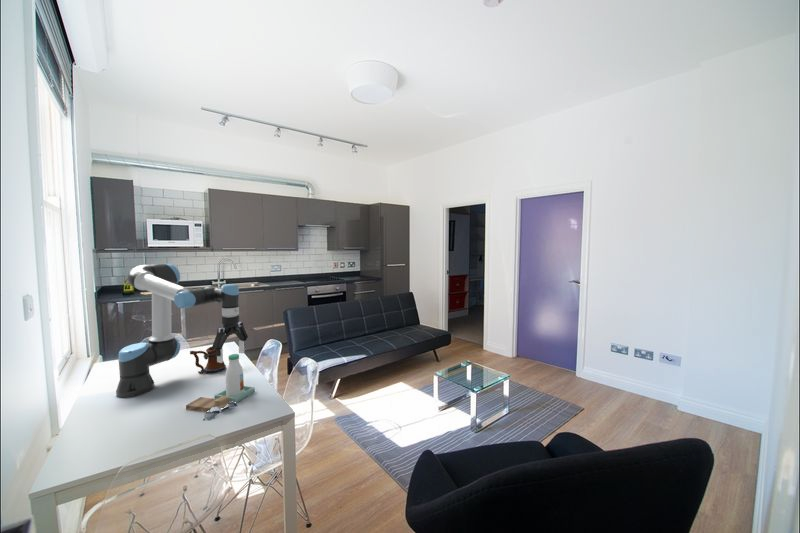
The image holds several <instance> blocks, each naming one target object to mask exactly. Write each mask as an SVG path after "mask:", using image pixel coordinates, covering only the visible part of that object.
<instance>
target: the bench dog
mask: <svg viewBox="0 0 800 533" xmlns="http://www.w3.org/2000/svg"><path fill="white" fill-rule="evenodd" d="M228 403H229V396H222V397H220V398H218V399H216V400H215V401H214V404H215V406H217V407H219V408H224V407H225V406H226V405H227V404H228ZM229 404H230V403H229Z"/></svg>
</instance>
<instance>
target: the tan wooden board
mask: <svg viewBox="0 0 800 533" xmlns="http://www.w3.org/2000/svg"><path fill="white" fill-rule="evenodd" d="M215 400H216V399H215V398H214V397H213V398H212V397H201V396H200V397H198V398H196V399H195V400H193V401H191V402H189V403H187V404H186V405H185V410H187V411H194V412H201V413H208V412H207V411H208V410H210V409H211V408H212V407H215V404H214V401H215Z"/></svg>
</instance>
